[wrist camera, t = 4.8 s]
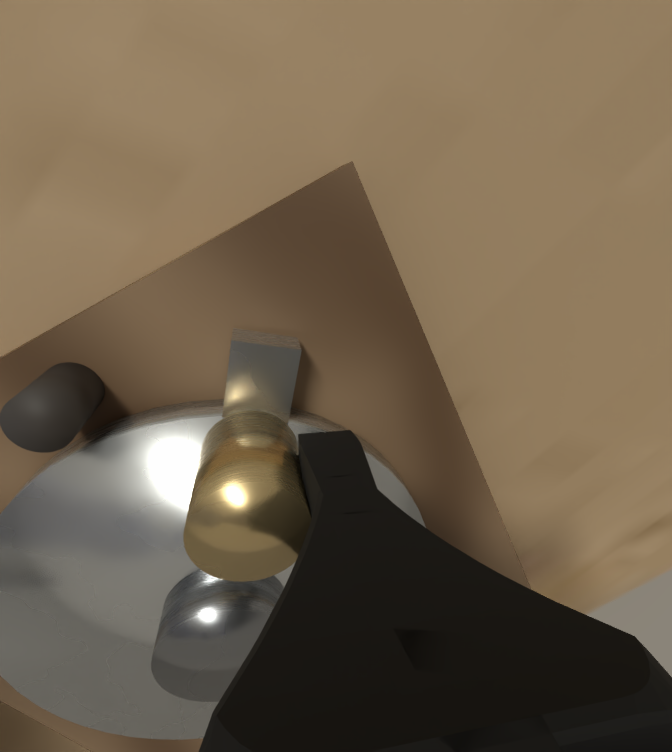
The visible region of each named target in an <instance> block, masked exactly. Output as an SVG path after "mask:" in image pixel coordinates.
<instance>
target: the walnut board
mask: <svg viewBox="0 0 672 752" xmlns="http://www.w3.org/2000/svg"><path fill="white" fill-rule="evenodd" d="M233 328H236V329H243V330H250V331H257V332H263V333H270V334H277V335H284V336H291V337H297V338H298V341H299V344H300V347H301V350H302V351H301V356H300V362H299V367H298V372H297V378H296V383H295V388H294V394H293V399H292V404H291V407H293V408H297V409H300V410H304V411H307V412H311V413H314V414H317V415H319V416H321V417H324V418H326V419H328V420H331V421H333V422H335V423H337V424H340V425H342V426H343V427H345V428H347V429H348V430H351V431H352V432H353V433H355V434H356V435H358V436H360V437H361V438H363V439H364V440H365V441H367V442H368V443H369V444H370V445H371V446H373V447H374V448H375V449H376V450H378V451H379V452H380V453H381V454H382V455H383V456H384V457H385V458H386V460H387V461H388V462H389V463H390V464H391V465H392V466H393V467H394V469H395V470H396V471H397V473H398V474H399V476H400V478H401V479H402V481H403V482H404V484H405V486H406V487H407V489H408V491H409V493H410V494H411V496H412V498H413V500H414V502H415V504H416V505H417V507H418V509H419V511H420V514H421V516H422V519H423V521H424V524H425V526H426V528H427V529H428V530H430V531H431V532H432V533H434V534H435V535H437V536H438V537H440V538H441V539H443V540H444V541H446V542H447V543H449V544H451V545H452V546H454V547H455V548H457V549H459V550H460V551H462V552H464V553H465V554H467V555H469V556H470V557H472V558H474V559H475V560H477V561H478V562H480V563H482V564H484V565H485V566H487V567H489V568H491V569H493V570H494V571H496V572H498V573H500V574H502V575H504V576H505V577H507V578H509V579H511V580H513V581H515V582H517V583H519V584H521V585H523V586H525V587H527V588H529V589H531V588H530V585H529V583H528V581H527V578H526V576H525V574H524V571H523V569H522V566H521V564H520V562H519V559H518V557H517V554H516V552H515V550H514V547H513V545H512V542H511V540H510V538H509V535H508V533H507V530H506V528H505V526H504V523H503V521H502V518H501V516H500V514H499V511H498V509H497V506H496V504H495V502H494V499H493V497H492V495H491V492H490V490H489V487H488V485H487V483H486V480H485V478H484V475H483V473H482V471H481V468H480V466H479V463H478V461H477V459H476V456H475V454H474V451H473V449H472V447H471V444H470V442H469V439H468V437H467V435H466V432H465V430H464V427H463V425H462V423H461V420H460V418H459V416H458V413H457V411H456V408H455V406H454V404H453V401H452V399H451V396H450V394H449V392H448V389H447V387H446V384H445V382H444V380H443V377H442V375H441V372H440V370H439V368H438V365H437V363H436V360H435V358H434V356H433V353H432V351H431V348H430V346H429V344H428V341H427V339H426V337H425V334H424V332H423V329H422V327H421V325H420V322H419V320H418V317H417V315H416V313H415V310H414V308H413V305H412V303H411V301H410V298H409V296H408V293H407V291H406V289H405V286H404V284H403V281H402V279H401V277H400V274H399V272H398V269H397V267H396V265H395V262H394V260H393V258H392V255H391V253H390V250H389V248H388V246H387V243H386V241H385V238H384V236H383V234H382V231H381V229H380V226H379V224H378V222H377V219H376V217H375V214H374V212H373V210H372V207H371V205H370V202H369V200H368V198H367V195H366V193H365V191H364V188H363V186H362V183H361V181H360V179H359V176H358V174H357V171H356V169H355V167H354V164H353V162H350V163H348V164H345V165H343V166H341V167H339V168H338V169H336V170H334V171H332V172H330V173H329V174H327V175H325V176H323V177H321V178H320V179H318V180H316V181H314V182H313V183H311V184H309V185H307V186H305V187H304V188H302V189H300V190H298V191H296V192H295V193H293V194H291V195H289V196H288V197H286V198H284V199H282V200H280V201H279V202H277V203H275V204H273V205H271V206H270V207H268V208H266V209H264V210H263V211H261V212H259V213H257V214H255V215H254V216H252V217H250V218H248V219H247V220H245V221H243V222H241V223H239V224H238V225H236V226H234V227H232V228H230V229H229V230H227V231H225V232H223V233H222V234H220V235H218V236H216V237H214V238H213V239H211V240H209V241H207V242H205V243H204V244H202V245H200V246H198V247H197V248H195V249H193V250H191V251H189V252H188V253H186V254H184V255H182V256H180V257H179V258H177V259H175V260H173V261H172V262H170V263H168V264H166V265H164V266H163V267H161V268H159V269H157V270H156V271H154V272H152V273H150V274H148V275H147V276H145V277H143V278H141V279H139V280H138V281H136V282H134V283H132V284H131V285H129V286H127V287H125V288H123V289H122V290H120V291H118V292H116V293H114V294H113V295H111V296H109V297H107V298H106V299H104V300H102V301H100V302H98V303H97V304H95V305H93V306H91V307H89V308H88V309H86V310H84V311H82V312H81V313H79V314H77V315H75V316H73V317H72V318H70V319H68V320H66V321H65V322H63V323H61V324H59V325H57V326H56V327H54V328H52V329H50V330H48V331H47V332H45V333H43V334H41V335H40V336H38V337H36V338H34V339H32V340H31V341H29V342H27V343H25V344H23V345H22V346H20V347H18V348H16V349H15V350H13V351H11V352H9V353H7V354H6V355H4V356H2V357H0V514H1V512H2V511H3V510H4V509H5V508H6V506H7V505H8V504H9V503H10V501H11V500H12V499H13V498H14V497H15V495H16V494H17V493H18V492H19V490H20V489H21V488H22V487H23V486H24V485H25V484H26V483H27V481H28V480H29V479H30V478H31V477H32V476H33V475H34V474H35V473H36V471H37V470H38V469H39V468H40V467H41V466H43V465H44V464H45V463H46V462H48V461H49V460H50V459H51V458H52V457H54V456H55V455H56V454H57V453H59V452H60V451H61V450H62V449H63V448H65V447H67V446H68V445H70V444H72V443H73V442H75V441H76V440H78V439H80V438H81V437H83V436H85V435H86V434H88V433H90V432H91V431H93V430H96V429H98V428H100V427H102V426H105V425H107V424H109V423H111V422H114V421H116V420H118V419H120V418H123V417H126V416H129V415H133V414H136V413H139V412H142V411H146V410H149V409H152V408H156V407H161V406H166V405H172V404H177V403H183V402H188V401H202V400H216V399H224V397H225V389H226V380H227V372H228V364H229V355H230V347H231V339H232V333H233ZM0 701H1V702H3V703H5V704H7V705H9V706H10V707H12V708H14V709H16V710H18V711H19V712H21V713H23V714H25V715H27V716H28V717H30V718H32V719H34V720H36V721H37V722H39V723H41V724H43V725H45V726H47V727H48V728H50V729H52V730H54V731H56V732H57V733H59V734H61V735H63V736H65V737H66V738H68V739H70V740H72V741H74V742H76V743H77V744H79V745H81V746H83V747H85V748H86V749H88V750H90V751H92V752H199V749H200V747H201V744H202V741H203V738H199V739H184V740H172V739H148V738H137V737H128V736H123V735H117V734H112V733H106V732H103V731H99V730H95V729H92V728H88V727H84V726H81V725H79V724H76V723H73V722H71V721H68V720H66V719H63V718H60V717H58V716H56V715H54V714H52V713H51V712H49V711H47V710H45V709H43V708H41V707H39V706H37V705H36V704H34V703H33V702H31V701H30V700H29V699H27V698H26V697H24V696H23V695H21V694H20V693H19V692H17V691H16V690H15V689H14V688H13V687H12V686H11V685H10V684H9V683H8V682H7V681H6V680H4V679H3V678H2V677H1V676H0Z"/></svg>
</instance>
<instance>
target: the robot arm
mask: <svg viewBox="0 0 672 752" xmlns="http://www.w3.org/2000/svg"><path fill="white" fill-rule="evenodd" d="M298 452H299V461H300V467H301V473H302V479H303V483H304V488H305V492H306V496H307V501H308V505H309V509H310V515H311V522H310V526H309V529H308V531H307V534H306V537H305V540H304V542H303V545H302V548H301V550H300V553H299V555H298V557H297V560H296V562H295V564H294V567H293V569H292V572H291V574H290V576H289V578H288V580H287V583H286V585H285V587H284V589H283V591H282V593H281V595H280V597H279V599H278V601H277V603H276V605H275V606H274V608H273V610H272V612H271V614H270V616H269V618H268V620H267V622H266V624H265V625H264V627H263V629H262V631H261V633H260V635H259V637H258V639H257V640H256V642H255V644H254V646H253V647H252V649H251V651H250V652H249V654H248V656H247V657H246V659H245V660H244V662H243V664H242V665H241V667H240V669H239V670H238V672H237V673H236V675H235V677H234V678H233V680H232V681H231V683H230V685H229V686H228V688H227V690H226V691H225V693H224V694H223V696H222V698H221V699H220V701H219V703H218V704H217V706H216V707H215V709H214V711H213V713H212V715H211V719H210V721H209V724H208V727H207V730H206V732H205V735H204V738H203V741H202V744H201V747H200V749H199V752H672V677H671V676H670V675H669V674H668V673H667V672H666V670H665V669H664V668H663V667H662V666H661V665H660V664H659V663H658V661H657V660H656V659H655V658H654V657H653V656H652V655H651V653H650V652H649V651H648V650H647V649H646V648H645V647H644V646H643V645H642V644H641V643H640V642H639V641H638V640H637V638H636V637H635V636H632V635H630V634H628V633H626V632H623V631H621V630H619V629H617V628H614V627H612V626H610V625H608V624H605V623H603V622H601V621H598V620H596V619H594V618H592V617H589V616H587V615H585V614H582V613H580V612H578V611H576V610H573V609H571V608H569V607H566V606H564V605H562V604H560V603H557V602H555V601H553V600H551V599H549V598H547V597H545V596H543V595H541V594H539V593H537V592H535V591H533V590H531V589H529V588H527V587H525V586H523V585H521V584H519V583H517V582H515V581H513V580H511V579H509V578H507V577H505V576H504V575H502V574H500V573H498V572H496V571H494V570H493V569H491V568H489V567H487V566H485V565H484V564H482V563H480V562H478V561H477V560H475V559H474V558H472V557H470V556H469V555H467V554H465V553H464V552H462V551H460V550H459V549H457V548H455V547H454V546H452V545H451V544H449V543H447V542H446V541H444V540H443V539H441V538H440V537H438V536H437V535H435V534H434V533H432V532H431V531H430V530H428V529H427V528H425V527H424V526H423V525H421V524H420V523H419V522H417V521H416V520H414V519H413V518H412V517H410V516H409V515H408V514H406V513H405V512H404V511H402V510H401V509H400V508H399V507H398V506H396V505H395V504H394V503H393V502H392V501H391V500H389V499H388V498H387V497H386V496H385V495H384V494H383V493H381V492H380V491H379V490H378V489H377V486H376V483H375V481H374V478H373V475H372V472H371V469H370V466H369V464H368V461H367V458H366V455H365V453H364V450H363V447H362V445H361V443H360V441H359V440H358V438H357V437H356V436H355V434H354V433H353V432H352V431H351V430H344V431H330V432H325V433H324V432H317V433H304V434H298Z"/></svg>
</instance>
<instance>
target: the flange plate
mask: <svg viewBox="0 0 672 752" xmlns="http://www.w3.org/2000/svg"><path fill="white" fill-rule="evenodd" d="M301 351H302V350H301V347H300V344H299V341H298V338H297V337H291V336H284V335H277V334H270V333H263V332H257V331H250V330H243V329H236V328H233V333H232V339H231V347H230V355H229V364H228V372H227V380H226V389H225V397H224V399H216V400H202V401H188V402H183V403H177V404H172V405H166V406H161V407H156V408H152V409H149V410H146V411H142V412H139V413H136V414H133V415H129V416H126V417H123V418H120V419H118V420H116V421H114V422H111V423H109V424H107V425H105V426H102V427H100V428H98V429H96V430H93V431H91V432H90V433H88V434H86V435H85V436H83V437H81V438H80V439H78V440H76V441H75V442H73V443H72V444H70V445H68V446H67V447H65V448H63V449H62V450H61V451H60V452H59V453H57V454H56V455H55V456H54V457H52V458H51V459H50V460H49V461H48V462H46V463H45V464H44V465H43V466H41V467H40V468H39V469H38V470H37V471H36V473H35V474H34V475H33V476H32V477H31V478H30V479H29V480H28V481H27V483H26V484H25V485H24V486H23V487H22V488H21V489H20V490H19V492H18V493H17V494H16V495H15V497H14V498H13V499H12V500H11V501H10V503H9V504H8V505H7V506H6V508H5V509H4V510H3V511H2V512H1V514H0V676H1V677H2V678H3V679H4V680H6V681H7V682H8V683H9V684H10V685H11V686H12V687H13V688H14V689H15V690H16V691H17V692H19V693H20V694H21V695H23V696H24V697H26V698H27V699H29V700H30V701H31V702H33V703H34V704H36V705H37V706H39V707H41V708H43V709H45V710H47V711H49V712H51V713H52V714H54V715H56V716H58V717H60V718H63V719H66V720H68V721H71V722H73V723H76V724H79V725H81V726H84V727H88V728H92V729H95V730H99V731H103V732H106V733H112V734H117V735H123V736H128V737H137V738H148V739H172V740H184V739H199V738H204V735H205V732H206V730H207V727H208V724H209V721H210V719H211V715H212V713H213V711H214V709H215V707H216V706H217V704H218V703H219V701H220V699H221V698H222V696H223V694H224V693H225V691H226V690H227V688H228V686H229V685H230V683H231V681H232V680H233V678H234V677H235V675H236V673H237V672H238V670H239V669H240V667H241V665H242V664H243V662H244V660H245V659H246V657H247V656H248V654H249V652H250V651H251V649H252V647H253V646H254V644H255V642H256V640H257V639H258V637H259V635H260V633H261V631H262V629H263V627H264V625H265V624H266V622H267V620H268V618H269V616H270V614H271V612H272V610H273V608H274V606H275V605H276V603H277V601H278V599H279V597H280V595H281V593H282V591H283V589H284V587H285V585H286V583H287V580H288V578H289V576H290V574H291V572H292V569H293V567H294V564H295V562H296V560H297V557H298V555H299V553H300V550H301V548H302V545H303V542H304V540H305V537H306V534H307V531H308V529H309V526H310V522H311V515H310V509H309V505H308V501H307V496H306V492H305V488H304V483H303V479H302V473H301V467H300V461H299V452H298V434H304V433H317V432H324V433H325V432H330V431H344V430H348V429H347V428H345V427H343V426H342V425H340V424H337V423H335V422H333V421H331V420H328V419H326V418H324V417H321V416H319V415H317V414H314V413H311V412H307V411H304V410H300V409H297V408H293V407H291V404H292V399H293V394H294V388H295V383H296V378H297V372H298V367H299V362H300V356H301ZM354 434H355V433H354ZM355 436H356V437H357V438H358V440H359V441H360V443H361V445H362V447H363V450H364V453H365V455H366V458H367V461H368V464H369V466H370V469H371V472H372V475H373V478H374V481H375V483H376V486H377V489H378V490H379V491H380V492H381V493H383V494H384V495H385V496H386V497H387V498H388V499H389V500H391V501H392V502H393V503H394V504H395V505H396V506H398V507H399V508H400V509H401V510H402V511H404V512H405V513H406V514H408V515H409V516H410V517H412V518H413V519H414V520H416V521H417V522H419V523H420V524H421V525H423V526H424V527H425V528H426V526H425V524H424V521H423V519H422V516H421V514H420V511H419V509H418V507H417V505H416V504H415V502H414V500H413V498H412V496H411V494H410V493H409V491H408V489H407V487H406V486H405V484H404V482H403V481H402V479H401V478H400V476H399V474H398V473H397V471H396V470H395V469H394V467H393V466H392V465H391V464H390V463H389V462H388V461H387V460H386V458H385V457H384V456H383V455H382V454H381V453H380V452H379V451H378V450H376V449H375V448H374V447H373V446H371V445H370V444H369V443H368V442H367V441H365V440H364V439H363V438H361V437H360V436H358V435H356V434H355Z"/></svg>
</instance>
